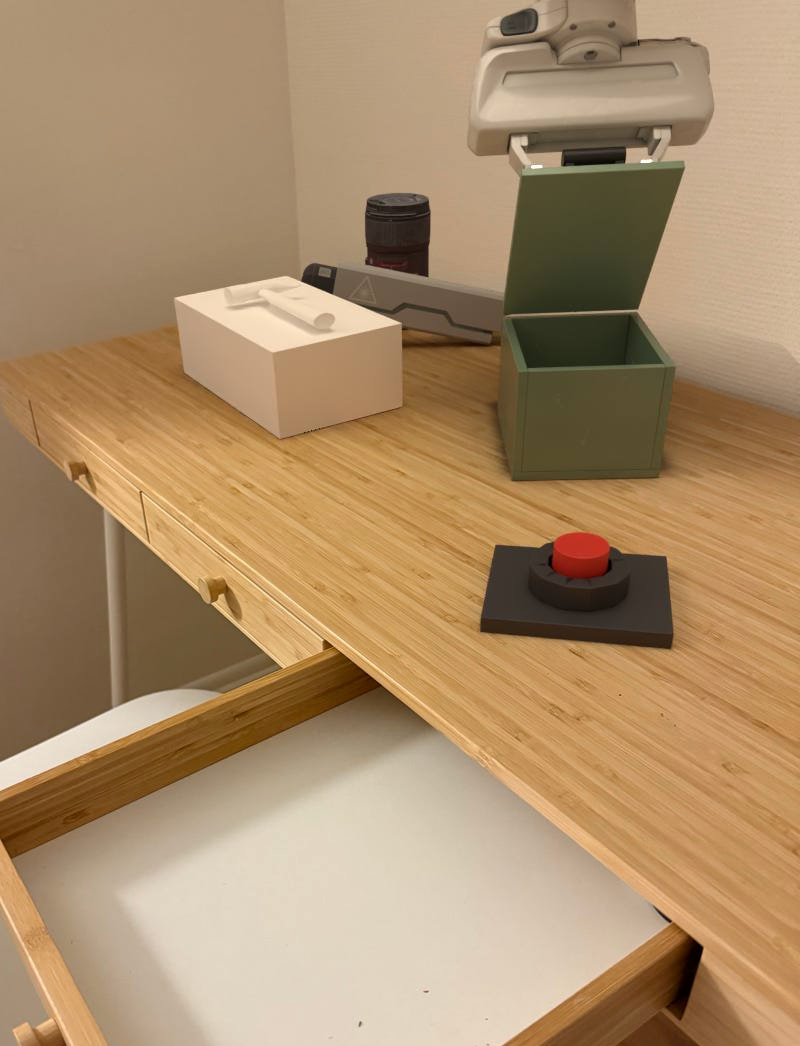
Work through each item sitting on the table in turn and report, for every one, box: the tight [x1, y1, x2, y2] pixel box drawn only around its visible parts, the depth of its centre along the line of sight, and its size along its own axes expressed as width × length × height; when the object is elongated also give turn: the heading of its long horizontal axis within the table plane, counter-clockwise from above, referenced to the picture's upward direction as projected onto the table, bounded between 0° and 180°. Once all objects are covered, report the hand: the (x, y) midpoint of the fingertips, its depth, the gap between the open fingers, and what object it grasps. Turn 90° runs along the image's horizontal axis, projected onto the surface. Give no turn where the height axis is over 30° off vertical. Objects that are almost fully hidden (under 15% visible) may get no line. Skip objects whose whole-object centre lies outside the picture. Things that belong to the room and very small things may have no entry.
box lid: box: [502, 146, 686, 316], centre depth 83 cm, size 16×13×5 cm
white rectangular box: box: [173, 275, 403, 440], centre depth 103 cm, size 14×25×11 cm, turn 29°
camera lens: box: [364, 192, 432, 330], centre depth 120 cm, size 8×8×15 cm
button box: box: [479, 541, 675, 650], centre depth 65 cm, size 12×10×4 cm
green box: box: [496, 311, 677, 482], centre depth 87 cm, size 16×13×10 cm
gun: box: [300, 259, 512, 346], centre depth 115 cm, size 2×25×10 cm, turn 85°
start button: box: [552, 531, 611, 579], centre depth 64 cm, size 4×4×2 cm
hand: (590, 188), depth 80 cm, fingers open, 8 cm apart
